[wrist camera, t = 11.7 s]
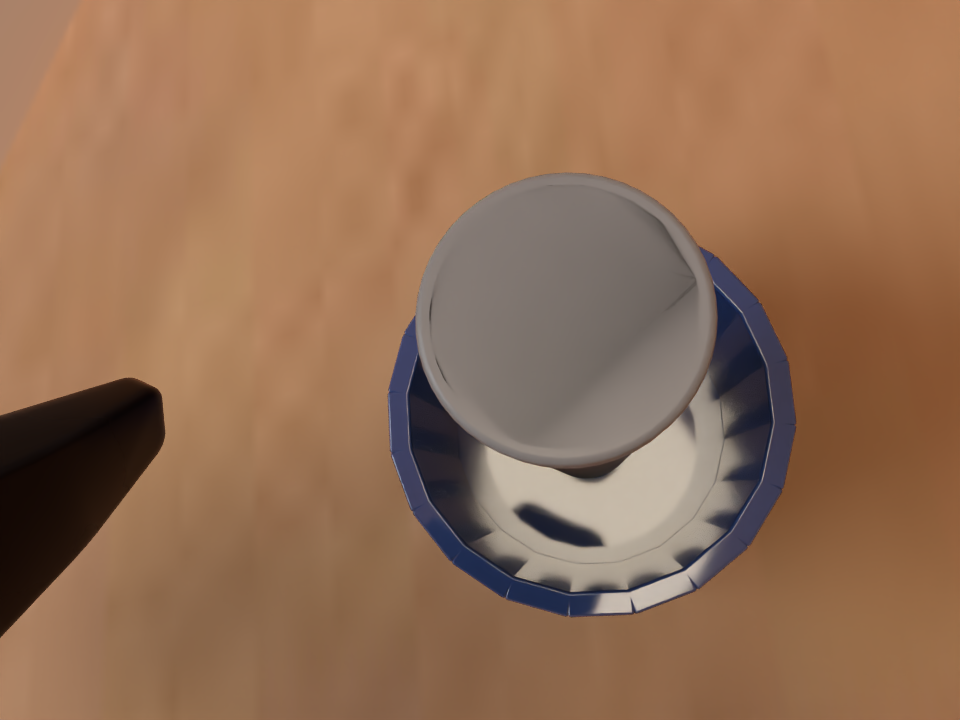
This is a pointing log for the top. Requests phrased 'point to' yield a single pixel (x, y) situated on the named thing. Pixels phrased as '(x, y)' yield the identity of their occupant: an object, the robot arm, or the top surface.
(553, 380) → the gray cylinder
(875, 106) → the top surface
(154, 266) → the top surface
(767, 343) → the blue cup
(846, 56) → the top surface
